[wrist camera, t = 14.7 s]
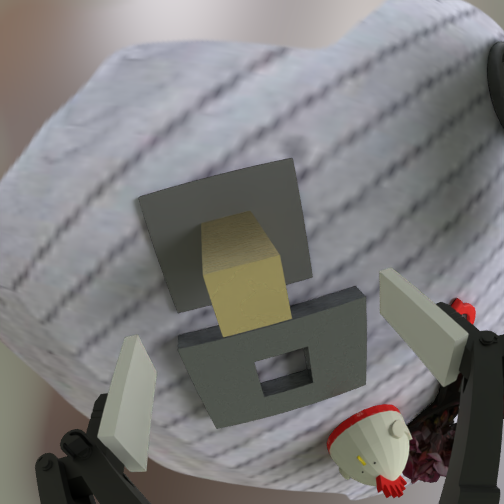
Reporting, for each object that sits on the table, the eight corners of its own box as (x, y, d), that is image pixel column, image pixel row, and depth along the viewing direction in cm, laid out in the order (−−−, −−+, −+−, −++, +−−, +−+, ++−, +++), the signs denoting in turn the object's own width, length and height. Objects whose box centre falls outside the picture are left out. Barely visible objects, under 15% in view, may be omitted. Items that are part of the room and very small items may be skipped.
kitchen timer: (368, 397, 42) (413, 470, 28) (411, 410, 46) (450, 468, 32) (310, 449, 45) (337, 520, 31) (359, 456, 49) (387, 514, 35)
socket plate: (355, 286, 34) (365, 296, 31) (358, 372, 39) (365, 384, 37) (178, 335, 32) (177, 349, 30) (215, 414, 38) (216, 428, 35)
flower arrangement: (471, 326, 41) (527, 378, 27) (506, 346, 47) (548, 385, 33) (364, 452, 49) (393, 510, 35) (419, 449, 55) (446, 493, 41)
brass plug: (250, 210, 28) (279, 254, 18) (260, 255, 30) (291, 318, 20) (201, 223, 28) (202, 275, 18) (213, 268, 30) (223, 337, 19)
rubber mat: (290, 158, 28) (292, 158, 27) (310, 274, 32) (312, 277, 32) (139, 196, 27) (138, 197, 26) (178, 310, 31) (177, 313, 31)
